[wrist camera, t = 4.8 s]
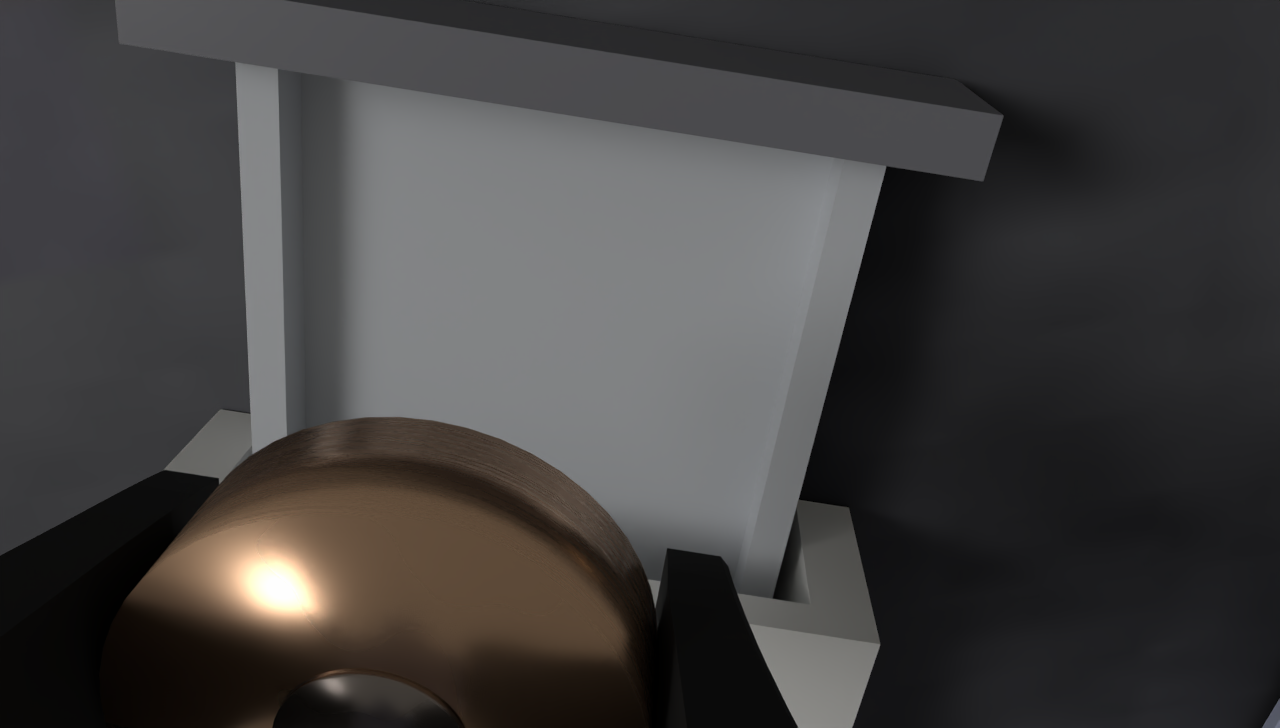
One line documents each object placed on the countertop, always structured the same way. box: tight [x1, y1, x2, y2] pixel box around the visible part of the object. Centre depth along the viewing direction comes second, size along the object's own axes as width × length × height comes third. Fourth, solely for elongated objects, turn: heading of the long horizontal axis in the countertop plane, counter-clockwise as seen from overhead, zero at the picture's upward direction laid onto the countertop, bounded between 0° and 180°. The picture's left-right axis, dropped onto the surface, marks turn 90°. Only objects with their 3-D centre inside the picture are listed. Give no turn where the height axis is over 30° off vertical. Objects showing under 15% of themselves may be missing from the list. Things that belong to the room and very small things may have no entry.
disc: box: [99, 417, 657, 728], centre depth 9 cm, size 5×5×2 cm
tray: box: [115, 0, 1004, 599], centre depth 18 cm, size 13×13×3 cm
